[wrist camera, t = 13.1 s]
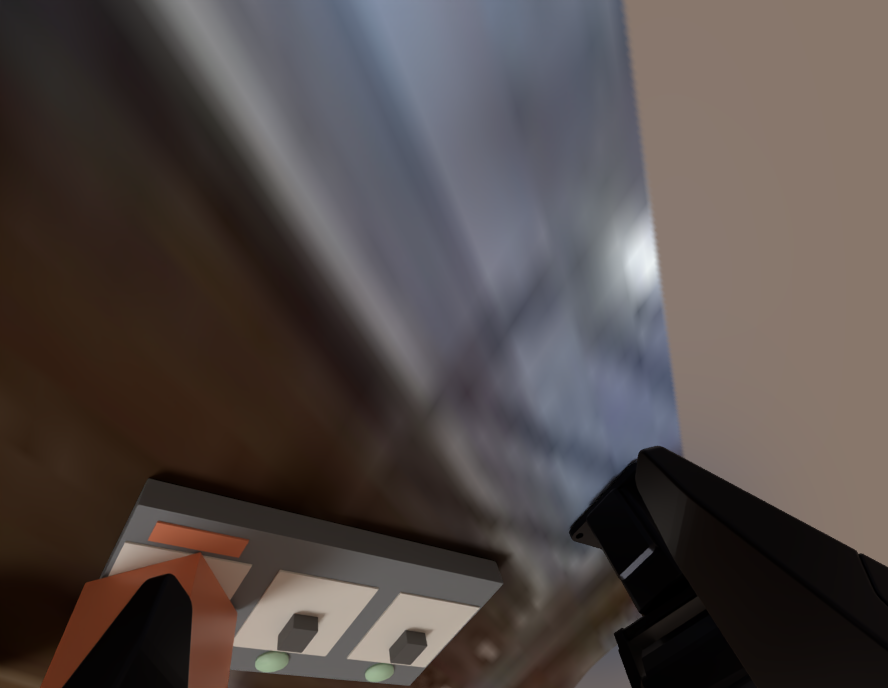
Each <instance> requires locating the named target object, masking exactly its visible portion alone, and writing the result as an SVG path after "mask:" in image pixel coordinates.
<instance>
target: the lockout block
mask: <svg viewBox="0 0 888 688" xmlns="http://www.w3.org/2000/svg"><path fill="white" fill-rule="evenodd" d="M167 573H171V574H173V575H174V576H175V577H176V578H177V579H178V581H179V582H180V584H181V585H182V587H183V588H184V590H185V591H186V592H187V594H188V595H189V597H190V599H191V602H192V608H193V613H192V630H191V647H190V664H189V681H188V688H227V687H228V680H229V672H230V665H231V658H232V650H233V643H234V636H235V628H236V621H237V614H238V613H237V611H236V610H235V608H234V606H233V605H232V603H231V601H230V600H229V598H228V597H227V595H226V593H225V592H224V590H223V588H222V587H221V585H220V583H219V582H218V580H217V578H216V577H215V575H214V574H213V572H212V570H211V569H210V567H209V565H208V564H207V562H206V560H205V559H204V557H203V555H202V554H201V552H199V553H196V554H192V555H188V556H184V557H181V558H177V559H173V560H169V561H165V562H162V563H158V564H154V565H150V566H147V567H143V568H139V569H135V570H132V571H128V572H124V573H120V574H116V575H113V576H109V577H105V578H101V579H98V580H94V581H90V582H86V583H85V585H84V587H83V590H82V592H81V594H80V596H79V599H78V601H77V603H76V606H75V608H74V610H73V613H72V615H71V617H70V620H69V622H68V624H67V626H66V629H65V631H64V633H63V636H62V638H61V640H60V643H59V645H58V647H57V650H56V652H55V654H54V657H53V659H52V661H51V663H50V666H49V668H48V670H47V673H46V675H45V677H44V680H43V682H42V684H41V687H40V688H62V687H63V685H64V684H65V683H66V681H67V680H68V679H69V678H70V676H71V675H72V674H73V672H74V671H75V670H76V669H77V667H78V666H79V665H80V663H81V662H82V661H83V660H84V658H85V657H86V656H87V654H88V653H89V652H90V651H91V649H92V648H93V647H94V645H95V644H96V643H97V642H98V640H99V639H100V638H101V636H102V635H103V634H104V633H105V631H106V630H107V629H108V627H109V626H110V625H111V624H112V622H113V621H114V620H115V618H116V617H117V616H118V615H119V613H120V612H121V611H122V609H123V608H124V607H125V606H126V604H127V603H128V602H129V600H130V599H131V598H132V597H133V595H134V594H135V593H136V591H137V590H138V589H139V588H140V586H141V585H142V584H143V583H144V582H145V581H146V580H147V579H149V578H152V577H156V576H160V575H163V574H167Z"/></svg>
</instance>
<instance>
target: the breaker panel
mask: <svg viewBox="0 0 888 688" xmlns="http://www.w3.org/2000/svg"><path fill="white" fill-rule="evenodd" d="M199 552H201V554H202V555H203V557H204V559H205V560H206V562H207V564H208V565H209V567H210V569H211V570H212V572H213V574H214V575H215V577H216V578H217V580H218V582H219V583H220V585H221V587H222V588H223V590H224V592H225V593H226V595H227V597H228V598H229V600H230V601H231V603H232V605H233V606H234V608H235V610H236V611H237V613H238V614H237V621H236V628H235V636H234V643H233V650H232V658H231V665H230V670H242V671H253V672H264V673H275V674H286V675H297V676H308V677H319V678H330V679H341V680H352V681H363V682H374V683H385V684H397V685H408V686H409V685H410V684H411V683H412V682H413V681H414V680H415V679H416V678H417V677H418V676H419V675H420V673H421V672H422V671H423V670H424V669H425V668H426V667H427V666H428V665H429V664H430V663H431V662H432V660H433V659H434V658H435V657H436V656H437V655H438V654H439V653H440V652H441V651H442V650H443V649H444V647H445V646H446V645H447V644H448V643H449V642H450V641H451V640H452V639H453V638H454V637H455V636H456V634H457V633H458V632H459V631H460V630H461V629H462V628H463V627H464V626H465V625H466V624H467V623H468V621H469V620H470V619H471V618H472V617H473V616H474V615H475V614H476V613H477V612H478V611H479V610H480V609H481V607H482V606H483V605H484V604H485V603H486V602H487V601H488V600H489V599H490V598H491V597H492V596H493V594H494V593H495V592H496V591H497V590H498V589H499V588H500V587H501V586H502V585H503V581H502V578H501V575H500V572H499V569H498V566H497V563H496V562H495V561H491V560H487V559H483V558H479V557H474V556H470V555H466V554H462V553H458V552H454V551H449V550H445V549H441V548H437V547H433V546H428V545H424V544H420V543H416V542H412V541H408V540H403V539H399V538H395V537H391V536H387V535H383V534H378V533H374V532H370V531H366V530H362V529H357V528H353V527H349V526H345V525H341V524H337V523H332V522H328V521H324V520H320V519H316V518H312V517H307V516H303V515H299V514H295V513H291V512H286V511H282V510H278V509H274V508H270V507H266V506H261V505H257V504H253V503H249V502H245V501H241V500H236V499H232V498H228V497H224V496H220V495H215V494H211V493H207V492H203V491H199V490H195V489H190V488H186V487H182V486H178V485H174V484H170V483H165V482H161V481H157V480H153V479H149V478H148V480H147V482H146V484H145V486H144V488H143V490H142V492H141V494H140V496H139V498H138V500H137V502H136V504H135V506H134V508H133V510H132V513H131V515H130V517H129V519H128V521H127V523H126V525H125V527H124V529H123V531H122V533H121V535H120V537H119V539H118V541H117V543H116V545H115V547H114V549H113V552H112V554H111V556H110V558H109V560H108V562H107V564H106V566H105V568H104V570H103V572H102V574H101V576H100V578H99V579H101V578H105V577H109V576H113V575H116V574H120V573H124V572H128V571H132V570H135V569H139V568H143V567H147V566H150V565H154V564H158V563H162V562H165V561H169V560H173V559H177V558H181V557H184V556H188V555H192V554H196V553H199Z"/></svg>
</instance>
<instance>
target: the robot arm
mask: <svg viewBox="0 0 888 688" xmlns="http://www.w3.org/2000/svg"><path fill="white" fill-rule="evenodd" d="M569 534H570V536H571V538H572V540H573V541H576V542H579V543H583V544H586V545H590V546H593V547H596V548H600V549H602V550H603V552H604V553H605V555H606V557H607V559H608V560H609V562H610V564H611V566H612V567H613V569H614V571H615V573H616V574H617V576H618V578H619V579H620V580H621V582H622V583H623V585H624V587H625V589H626V590H627V592H628V594H629V596H630V597H631V599H632V601H633V603H634V604H635V606H636V608H637V610H638V611H639V613H640V614H642V616H643V617H641V618H640V619H638V620H637V621H635V622H634V623H632V624H631V625H629V626H628V627H626V628H625V629H624V628H621V629H620V630H618V631H617V632H615V633H614V636H615V639H616V641H617V644H618V647H619V654H620V657H621V659H622V662H623V665H624V667H625V670H626V673H627V676H628V679H629V681H630V684H631V687H632V688H888V567H886V566H885V565H883V564H881V563H879V562H877V561H875V560H874V559H872V558H870V557H868V556H866V555H864V554H861V553H860V554H858V552H857V551H856V550H854V549H853V548H851V547H849V546H847V545H845V544H843V543H841V542H840V541H838V540H836V539H834V538H832V537H830V536H828V535H827V534H825V533H823V532H821V531H819V530H817V529H815V528H813V527H811V526H810V525H808V524H806V523H804V522H802V521H800V520H798V519H797V518H795V517H793V516H791V515H789V514H787V513H785V512H784V511H782V510H779V509H778V508H776V507H774V506H772V505H770V504H768V503H767V502H765V501H763V500H761V499H759V498H757V497H756V496H754V495H752V494H750V493H748V492H746V491H744V490H742V489H741V488H739V487H737V486H735V485H733V484H731V483H729V482H727V481H725V480H724V479H722V478H720V477H718V476H716V475H714V474H712V473H711V472H709V471H707V470H705V469H703V468H701V467H699V466H698V465H696V464H694V463H692V462H690V461H688V460H686V459H685V458H683V457H681V456H679V455H677V454H675V453H673V452H671V451H670V450H668V449H666V448H664V447H661V446H654V447H650V448H646V449H643V450H641V451H640V452H639V454H638V460H637V462H636V463H634V464H632V465H631V466H630V467H629V468H628V469H627V470H626V471H625V472H624V473H623V474H622V475H621V476H620V477H619V478H618V479H617V480H616V482H615V483H614V484H613V485H612V486H611V487H610V488H609V489H608V490H607V491H606V492H605V493H604V494H603V495H602V496H601V497H600V499H599V500H598V501H597V502H596V503H595V504H594V505H593V506H592V507H591V508H590V509H589V510H588V511H587V512H586V513H585V514H584V516H583V517H582V518H581V519H580V520H579V521H578V522H577V523H576V524H575V525H574V526H573V527H572V528H571V530H570V531H569ZM192 613H193V608H192V602H191V599H190V597H189V595H188V594H187V592H186V591H185V590H184V588H183V587H182V585H181V584H180V582H179V581H178V579H177V578H176V577H175V576H174V575H173V574H171V573H167V574H163V575H160V576H156V577H152V578H149V579H147V580H146V581H145V582H144V583H143V584H142V585H141V586H140V588H139V589H138V590H137V591H136V593H135V594H134V595H133V597H132V598H131V599H130V600H129V602H128V603H127V604H126V606H125V607H124V608H123V609H122V611H121V612H120V613H119V615H118V616H117V617H116V618H115V620H114V621H113V622H112V624H111V625H110V626H109V627H108V629H107V630H106V631H105V633H104V634H103V635H102V636H101V638H100V639H99V640H98V642H97V643H96V644H95V645H94V647H93V648H92V649H91V651H90V652H89V653H88V654H87V656H86V657H85V658H84V660H83V661H82V662H81V663H80V665H79V666H78V667H77V669H76V670H75V671H74V672H73V674H72V675H71V676H70V678H69V679H68V680H67V681H66V683H65V684H64V685H63V687H62V688H188V681H189V664H190V647H191V630H192Z"/></svg>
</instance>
